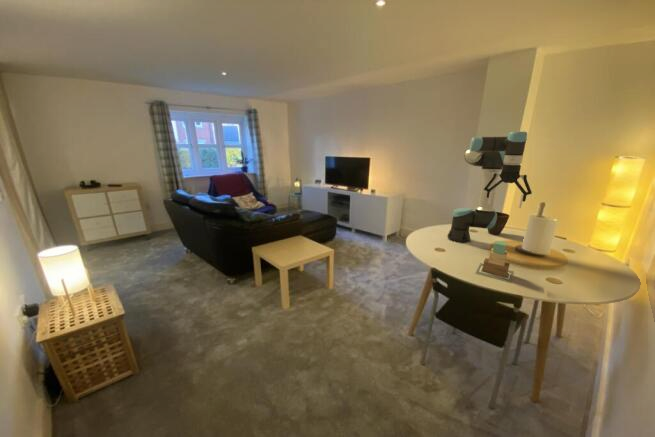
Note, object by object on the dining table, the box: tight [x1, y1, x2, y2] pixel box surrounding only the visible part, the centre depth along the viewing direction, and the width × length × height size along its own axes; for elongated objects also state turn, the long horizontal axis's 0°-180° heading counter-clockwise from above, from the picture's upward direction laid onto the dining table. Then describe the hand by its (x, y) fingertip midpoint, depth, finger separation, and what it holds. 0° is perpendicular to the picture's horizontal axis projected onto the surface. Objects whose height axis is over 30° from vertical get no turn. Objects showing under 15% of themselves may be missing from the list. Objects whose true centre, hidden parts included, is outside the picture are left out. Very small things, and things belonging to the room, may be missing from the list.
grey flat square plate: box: [474, 262, 515, 284], centre depth 138 cm, size 16×16×1 cm
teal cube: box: [492, 240, 508, 255], centre depth 134 cm, size 5×5×5 cm
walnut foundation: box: [482, 257, 510, 278], centre depth 137 cm, size 6×11×6 cm, turn 51°
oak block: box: [488, 247, 508, 266], centre depth 135 cm, size 7×7×6 cm
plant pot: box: [487, 211, 510, 236], centre depth 199 cm, size 15×15×16 cm
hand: (503, 205), depth 134 cm, fingers open, 13 cm apart
